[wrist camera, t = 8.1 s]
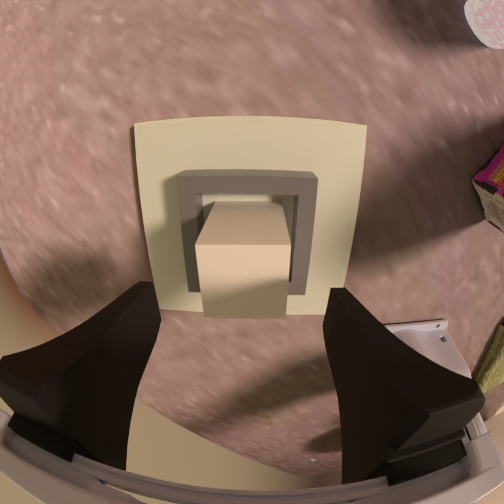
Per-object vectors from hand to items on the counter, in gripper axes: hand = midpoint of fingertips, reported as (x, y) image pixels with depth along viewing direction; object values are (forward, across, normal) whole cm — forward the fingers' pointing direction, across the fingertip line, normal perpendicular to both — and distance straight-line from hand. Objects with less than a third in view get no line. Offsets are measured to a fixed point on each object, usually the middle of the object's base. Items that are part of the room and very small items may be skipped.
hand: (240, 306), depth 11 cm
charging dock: (+8, 0, 0) cm, 8 cm away
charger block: (+8, 0, 0) cm, 8 cm away
